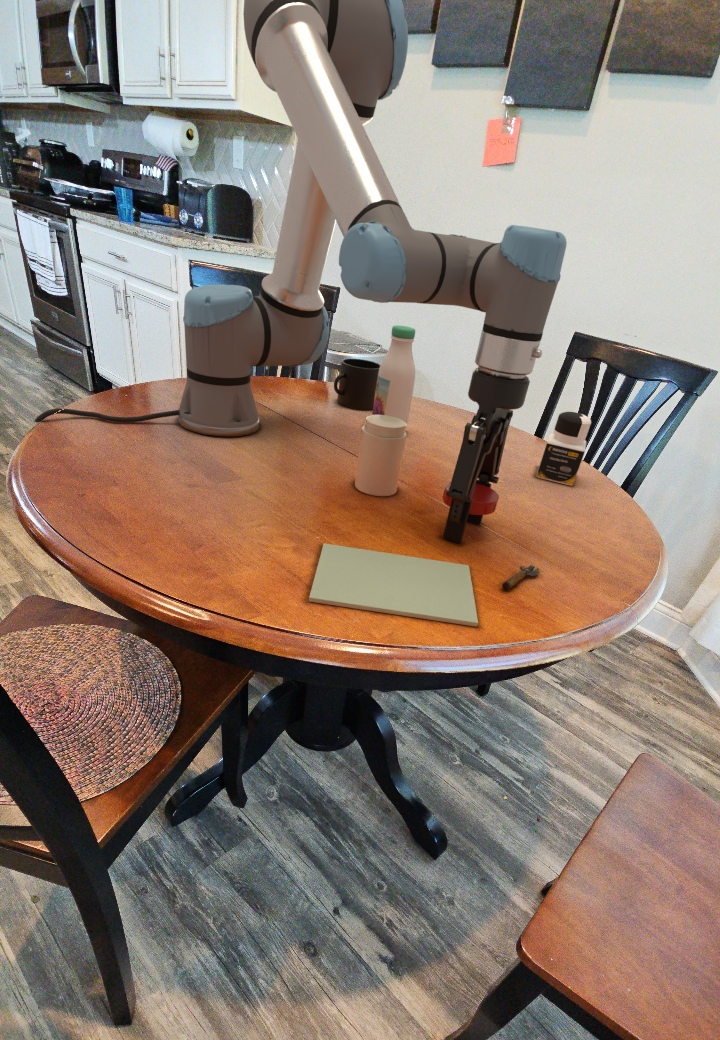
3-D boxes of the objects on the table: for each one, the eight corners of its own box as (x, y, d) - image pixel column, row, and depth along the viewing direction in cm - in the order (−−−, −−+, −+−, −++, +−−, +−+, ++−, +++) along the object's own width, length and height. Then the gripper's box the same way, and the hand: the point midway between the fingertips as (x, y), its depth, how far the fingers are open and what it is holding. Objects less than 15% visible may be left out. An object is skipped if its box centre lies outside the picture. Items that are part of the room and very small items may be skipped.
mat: (308, 601, 68) (309, 597, 68) (323, 546, 80) (323, 542, 79) (477, 627, 69) (478, 622, 68) (468, 568, 80) (469, 565, 80)
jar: (353, 492, 96) (361, 423, 90) (356, 476, 102) (364, 411, 95) (396, 499, 96) (408, 431, 90) (397, 482, 102) (408, 418, 96)
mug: (320, 400, 138) (324, 358, 133) (360, 397, 145) (365, 358, 139) (343, 412, 132) (348, 369, 127) (384, 409, 139) (390, 368, 134)
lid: (506, 509, 87) (510, 497, 86) (472, 519, 83) (475, 506, 81) (466, 489, 92) (469, 477, 91) (431, 497, 87) (434, 485, 86)
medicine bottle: (535, 477, 114) (555, 414, 107) (539, 466, 119) (558, 406, 112) (572, 486, 112) (595, 423, 105) (574, 475, 118) (596, 414, 111)
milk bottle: (406, 428, 129) (423, 327, 117) (405, 439, 123) (423, 333, 111) (371, 422, 129) (385, 321, 117) (368, 433, 123) (383, 327, 111)
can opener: (507, 591, 76) (509, 584, 75) (492, 583, 77) (495, 576, 77) (542, 573, 82) (545, 566, 81) (528, 566, 83) (531, 558, 82)
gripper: (506, 389, 67) (461, 563, 81) (549, 368, 83) (505, 516, 96) (446, 375, 70) (412, 545, 83) (499, 356, 85) (463, 503, 99)
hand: (462, 530), depth 90 cm, fingers closed on lid, 8 cm apart
